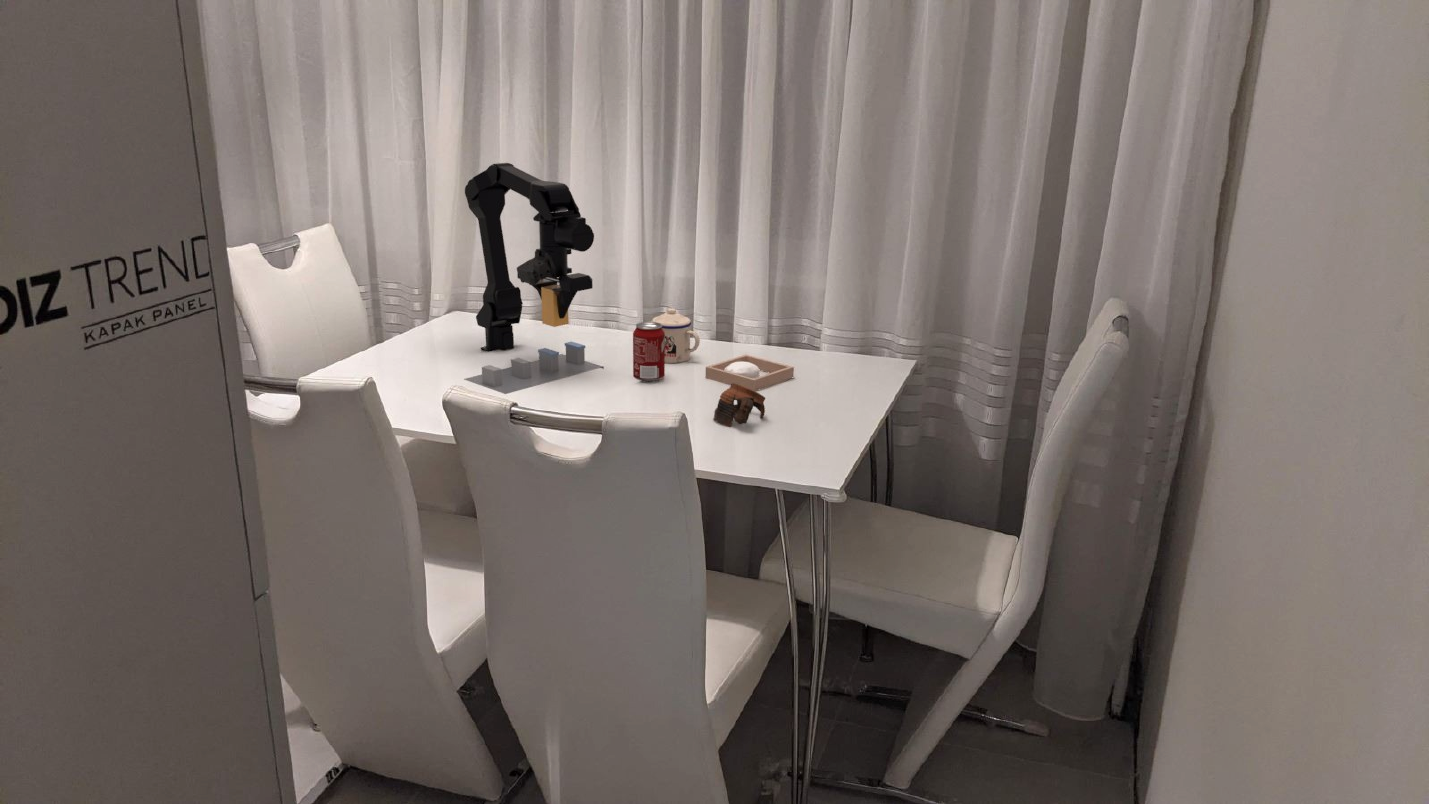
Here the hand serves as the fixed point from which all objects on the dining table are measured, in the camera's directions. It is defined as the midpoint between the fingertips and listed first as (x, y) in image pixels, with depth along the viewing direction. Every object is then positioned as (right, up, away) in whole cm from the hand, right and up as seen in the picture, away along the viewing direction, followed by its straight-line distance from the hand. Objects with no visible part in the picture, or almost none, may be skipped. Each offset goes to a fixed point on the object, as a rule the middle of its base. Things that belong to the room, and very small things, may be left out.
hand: (555, 316), depth 230 cm
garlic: (+40, -14, +2) cm, 42 cm away
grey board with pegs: (-4, -13, 0) cm, 14 cm away
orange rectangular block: (0, -2, 0) cm, 2 cm away
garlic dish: (+42, -13, +2) cm, 44 cm away
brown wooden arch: (+39, -23, -24) cm, 51 cm away
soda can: (+20, -14, 0) cm, 24 cm away
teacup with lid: (+26, -9, +15) cm, 31 cm away
